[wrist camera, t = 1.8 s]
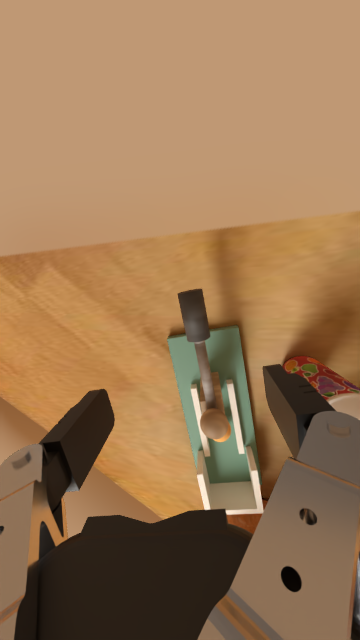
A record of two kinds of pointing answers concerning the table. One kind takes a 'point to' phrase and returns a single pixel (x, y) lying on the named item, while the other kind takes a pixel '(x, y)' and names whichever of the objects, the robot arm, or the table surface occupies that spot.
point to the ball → (225, 435)
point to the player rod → (204, 364)
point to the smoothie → (327, 384)
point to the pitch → (240, 448)
